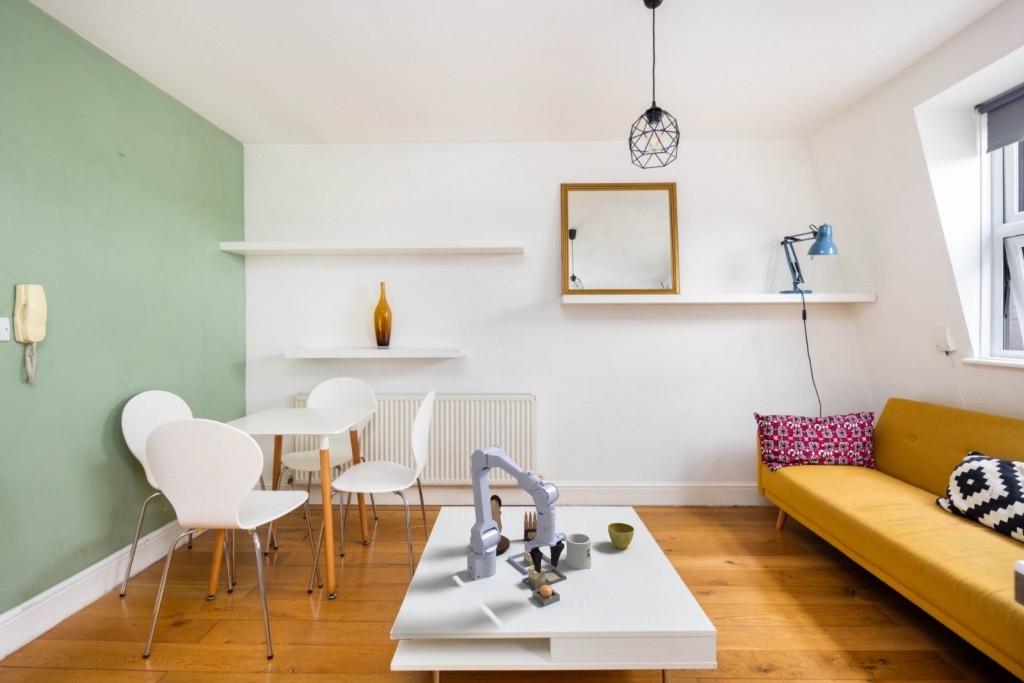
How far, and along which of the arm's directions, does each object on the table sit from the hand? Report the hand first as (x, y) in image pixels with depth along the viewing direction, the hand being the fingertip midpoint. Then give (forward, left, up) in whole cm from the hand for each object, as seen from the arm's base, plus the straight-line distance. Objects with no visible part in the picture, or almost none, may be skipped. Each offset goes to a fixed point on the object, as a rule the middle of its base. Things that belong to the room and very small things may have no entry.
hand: (546, 568), depth 142 cm
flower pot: (+47, +15, -11) cm, 50 cm away
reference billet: (+3, +9, -9) cm, 13 cm away
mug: (+24, +13, -11) cm, 29 cm away
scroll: (+3, +40, -11) cm, 42 cm away
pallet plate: (+6, +9, -10) cm, 15 cm away
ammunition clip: (+22, +36, -11) cm, 44 cm away
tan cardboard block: (+9, +21, -10) cm, 25 cm away
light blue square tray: (+9, +21, -10) cm, 25 cm away
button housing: (0, 0, -10) cm, 10 cm away
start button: (0, 0, -9) cm, 9 cm away
